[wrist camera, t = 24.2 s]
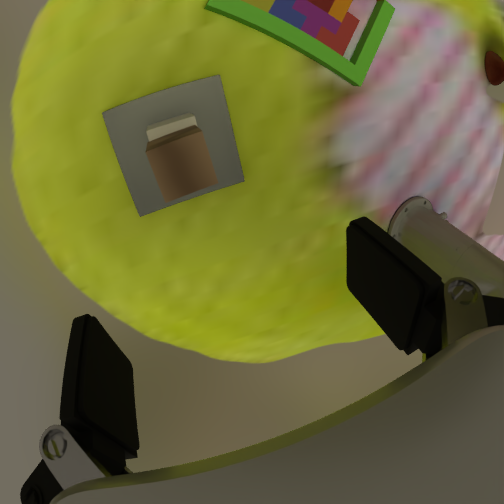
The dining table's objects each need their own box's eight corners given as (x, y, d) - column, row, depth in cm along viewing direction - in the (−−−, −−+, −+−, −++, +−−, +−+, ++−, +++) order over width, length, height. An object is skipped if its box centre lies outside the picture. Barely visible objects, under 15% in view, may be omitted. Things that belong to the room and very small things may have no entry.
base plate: (217, 75, 30) (219, 74, 29) (242, 178, 38) (244, 181, 37) (103, 112, 28) (102, 112, 27) (140, 213, 36) (140, 216, 35)
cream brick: (189, 112, 30) (194, 115, 26) (204, 166, 34) (211, 178, 30) (147, 125, 30) (146, 131, 26) (164, 179, 34) (165, 193, 30)
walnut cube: (195, 124, 27) (202, 130, 23) (209, 168, 30) (218, 183, 26) (147, 142, 26) (145, 152, 22) (164, 185, 29) (165, 203, 25)
